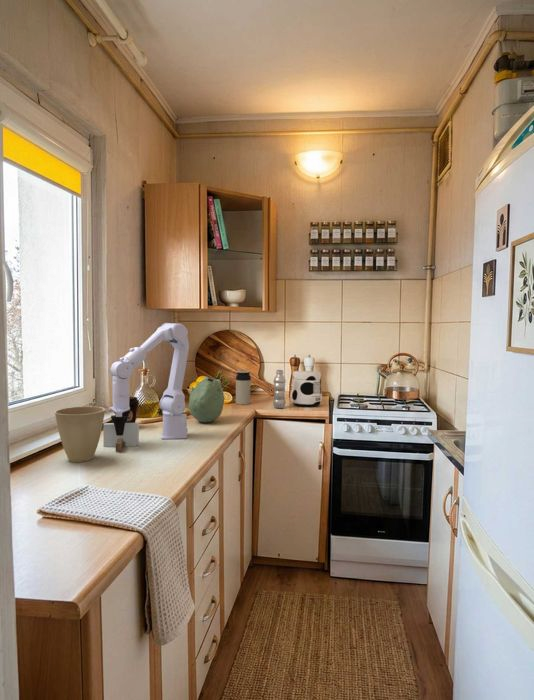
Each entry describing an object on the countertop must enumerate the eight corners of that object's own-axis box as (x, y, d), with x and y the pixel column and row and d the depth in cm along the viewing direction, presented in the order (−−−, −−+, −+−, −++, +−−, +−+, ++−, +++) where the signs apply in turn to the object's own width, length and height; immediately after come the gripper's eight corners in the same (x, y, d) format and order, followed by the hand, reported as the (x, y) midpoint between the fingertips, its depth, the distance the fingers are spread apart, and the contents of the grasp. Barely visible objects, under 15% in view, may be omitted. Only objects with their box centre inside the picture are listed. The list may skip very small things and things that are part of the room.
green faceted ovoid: (182, 425, 204) (182, 379, 202) (196, 416, 222) (196, 374, 221) (217, 427, 201) (218, 380, 200) (228, 418, 220) (229, 375, 218)
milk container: (291, 401, 270) (292, 370, 269) (322, 403, 267) (323, 371, 266) (288, 407, 253) (289, 373, 251) (321, 408, 250) (322, 374, 249)
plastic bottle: (286, 407, 251) (287, 370, 250) (283, 409, 245) (283, 371, 243) (275, 406, 253) (276, 369, 252) (271, 408, 247) (271, 370, 245)
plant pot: (108, 451, 162) (108, 405, 161) (100, 465, 147) (100, 414, 146) (61, 453, 159) (61, 406, 158) (49, 466, 145) (49, 415, 144)
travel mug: (238, 405, 255) (239, 371, 254) (233, 402, 262) (234, 370, 261) (252, 404, 258) (252, 371, 257) (247, 402, 265) (247, 370, 264)
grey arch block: (138, 444, 172) (138, 422, 171) (138, 445, 170) (138, 423, 170) (104, 445, 170) (104, 423, 169) (103, 446, 168) (103, 424, 168)
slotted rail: (125, 439, 179) (125, 431, 179) (120, 452, 161) (120, 443, 161) (121, 439, 179) (121, 431, 178) (115, 452, 161) (115, 443, 161)
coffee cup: (132, 431, 191) (132, 399, 190) (113, 430, 193) (113, 398, 192) (142, 426, 200) (142, 396, 199) (123, 425, 201) (123, 395, 201)
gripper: (111, 392, 175) (111, 428, 176) (106, 398, 161) (106, 438, 162) (131, 392, 176) (131, 428, 177) (128, 398, 162) (127, 437, 163)
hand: (120, 432), depth 170 cm, fingers open, 7 cm apart
